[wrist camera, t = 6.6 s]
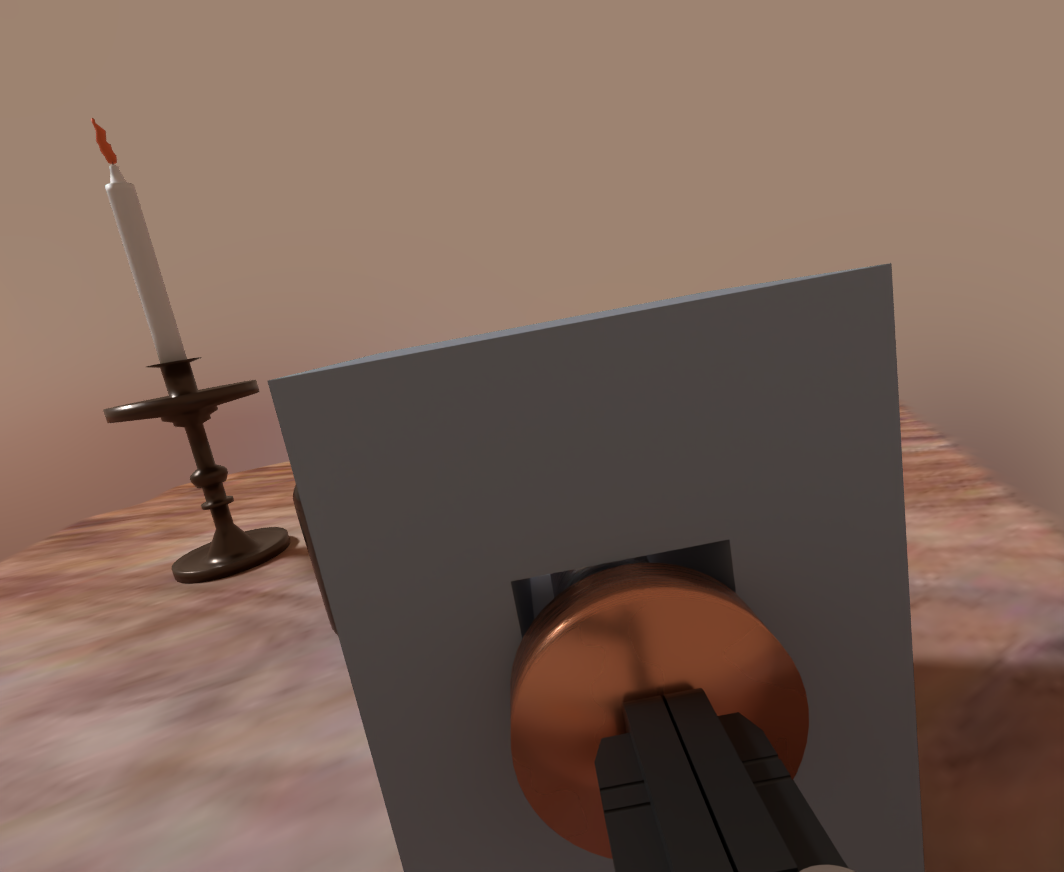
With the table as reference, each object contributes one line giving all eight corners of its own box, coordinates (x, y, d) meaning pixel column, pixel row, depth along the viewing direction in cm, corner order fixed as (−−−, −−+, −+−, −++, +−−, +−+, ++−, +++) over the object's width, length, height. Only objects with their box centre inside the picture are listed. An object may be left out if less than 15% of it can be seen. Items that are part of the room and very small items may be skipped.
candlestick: (254, 580, 43) (100, 74, 36) (129, 595, 45) (-41, 115, 38) (322, 526, 54) (213, 126, 47) (219, 540, 55) (98, 156, 48)
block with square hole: (926, 896, 14) (891, 263, 11) (438, 994, 14) (267, 380, 11) (751, 658, 24) (707, 291, 21) (465, 714, 24) (380, 352, 21)
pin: (820, 832, 11) (795, 570, 10) (540, 888, 11) (483, 630, 10) (621, 511, 30) (605, 408, 29) (517, 531, 30) (497, 428, 29)
